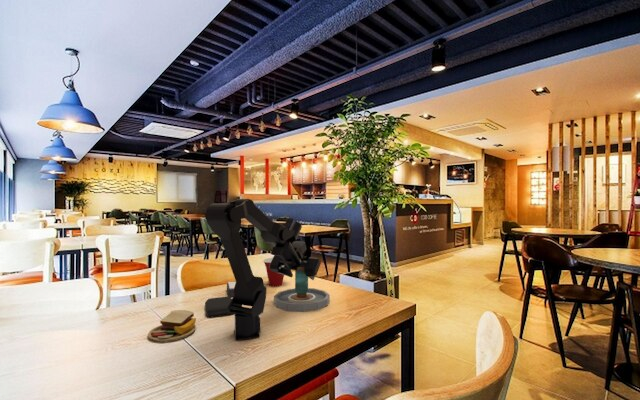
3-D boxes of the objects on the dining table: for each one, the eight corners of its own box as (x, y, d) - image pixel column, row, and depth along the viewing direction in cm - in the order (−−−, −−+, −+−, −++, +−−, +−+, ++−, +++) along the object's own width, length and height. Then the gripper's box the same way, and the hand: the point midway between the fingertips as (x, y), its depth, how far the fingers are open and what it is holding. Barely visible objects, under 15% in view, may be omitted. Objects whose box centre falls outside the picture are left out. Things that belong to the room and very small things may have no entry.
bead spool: (301, 303, 115) (301, 267, 115) (290, 299, 119) (290, 264, 119) (313, 299, 120) (313, 264, 120) (301, 295, 124) (301, 262, 124)
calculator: (266, 285, 131) (228, 287, 126) (266, 296, 131) (228, 298, 126) (262, 279, 141) (226, 280, 136) (262, 289, 141) (226, 291, 136)
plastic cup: (261, 283, 148) (261, 256, 148) (284, 281, 151) (284, 255, 151) (264, 289, 137) (264, 261, 137) (289, 287, 141) (289, 259, 141)
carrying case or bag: (239, 315, 108) (234, 302, 121) (239, 306, 108) (234, 294, 121) (206, 320, 104) (204, 306, 117) (205, 310, 104) (204, 297, 117)
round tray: (281, 314, 107) (280, 306, 107) (270, 297, 126) (270, 290, 126) (336, 307, 114) (336, 300, 114) (318, 292, 132) (318, 286, 132)
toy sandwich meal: (137, 340, 89) (137, 323, 89) (173, 322, 101) (173, 307, 101) (173, 346, 85) (173, 328, 85) (207, 327, 98) (207, 311, 98)
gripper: (318, 235, 112) (331, 261, 121) (273, 233, 120) (289, 258, 130) (307, 262, 105) (322, 287, 114) (260, 257, 113) (278, 282, 123)
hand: (302, 277), depth 120 cm, fingers open, 9 cm apart
